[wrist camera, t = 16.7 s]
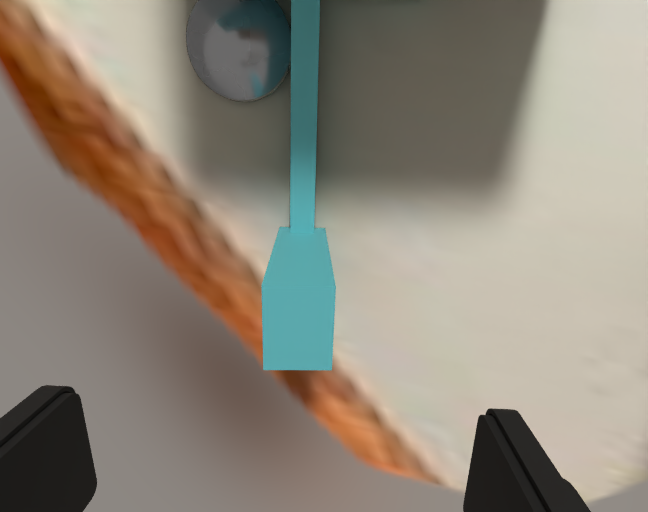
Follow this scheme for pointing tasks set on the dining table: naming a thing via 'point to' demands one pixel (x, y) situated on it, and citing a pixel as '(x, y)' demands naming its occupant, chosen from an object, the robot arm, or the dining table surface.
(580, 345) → the dining table surface
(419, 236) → the dining table surface
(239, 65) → the grey flat disc
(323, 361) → the scraper
